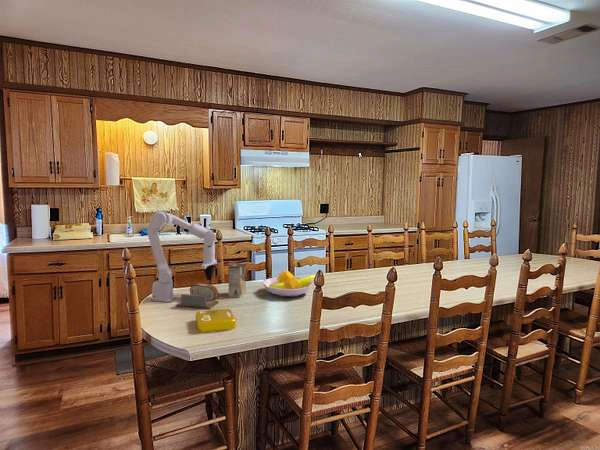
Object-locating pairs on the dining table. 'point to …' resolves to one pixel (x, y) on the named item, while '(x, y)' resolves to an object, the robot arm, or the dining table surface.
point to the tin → (204, 291)
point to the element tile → (215, 320)
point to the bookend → (193, 300)
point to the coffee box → (237, 280)
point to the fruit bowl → (288, 284)
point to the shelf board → (209, 305)
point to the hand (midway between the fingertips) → (209, 279)
